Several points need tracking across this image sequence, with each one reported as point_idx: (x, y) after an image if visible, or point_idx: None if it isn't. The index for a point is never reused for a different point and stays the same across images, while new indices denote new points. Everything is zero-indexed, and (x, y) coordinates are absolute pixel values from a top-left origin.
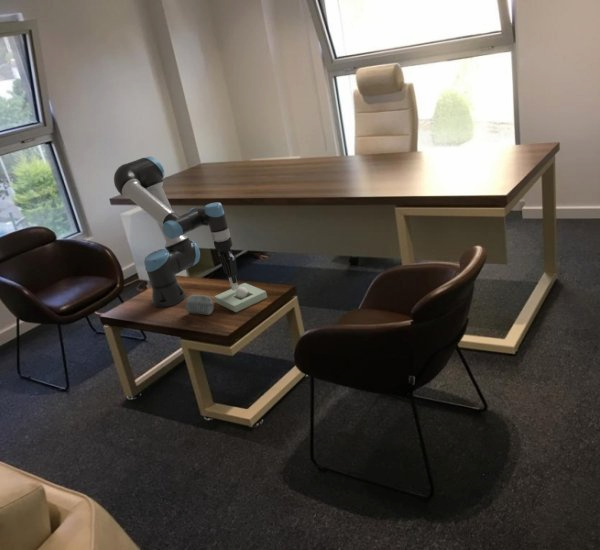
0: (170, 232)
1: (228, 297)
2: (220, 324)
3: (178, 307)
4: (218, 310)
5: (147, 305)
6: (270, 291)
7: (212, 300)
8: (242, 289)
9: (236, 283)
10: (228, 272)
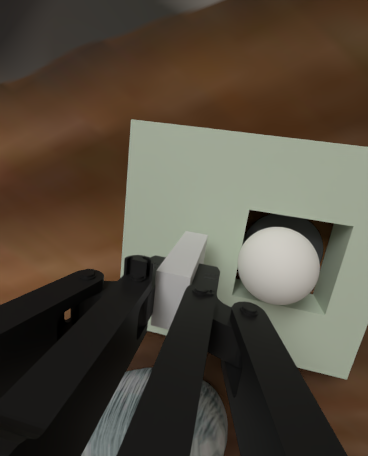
0: None
1: None
2: (346, 448)
3: None
4: (216, 357)
5: None
6: (349, 75)
7: (213, 430)
8: (308, 283)
9: (201, 254)
10: (137, 339)
